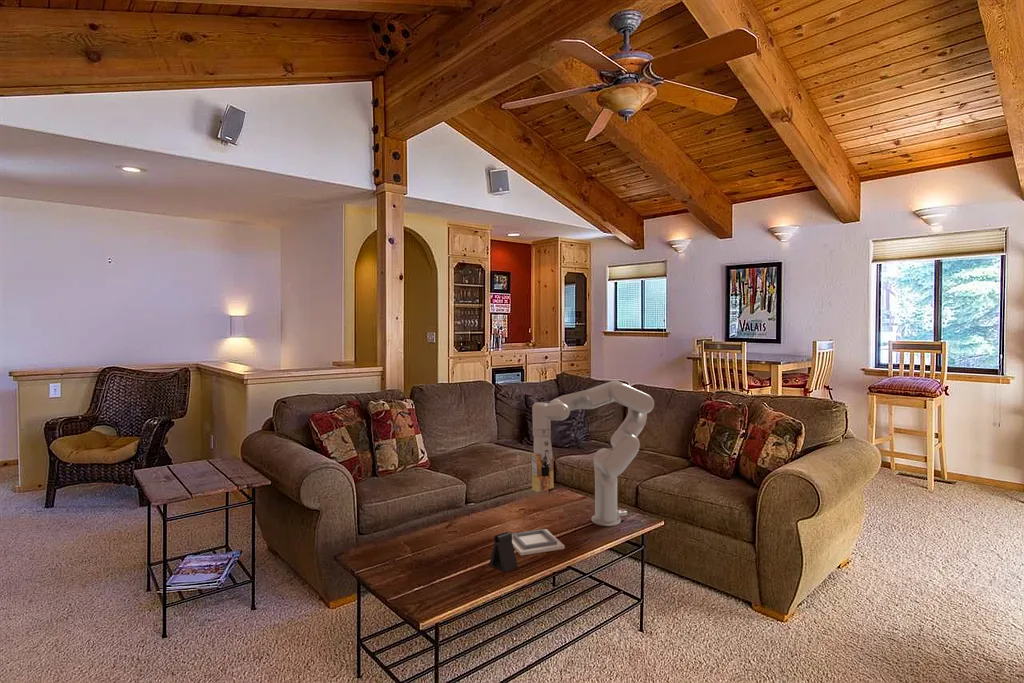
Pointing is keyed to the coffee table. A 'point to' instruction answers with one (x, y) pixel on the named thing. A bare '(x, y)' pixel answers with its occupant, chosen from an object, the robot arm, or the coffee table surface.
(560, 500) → the coffee table surface
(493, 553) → the phone stand
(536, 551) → the tile
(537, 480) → the candy box
